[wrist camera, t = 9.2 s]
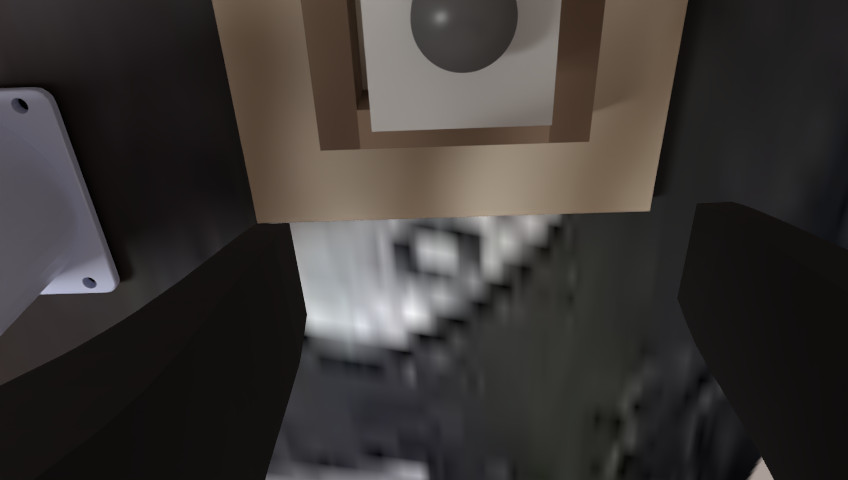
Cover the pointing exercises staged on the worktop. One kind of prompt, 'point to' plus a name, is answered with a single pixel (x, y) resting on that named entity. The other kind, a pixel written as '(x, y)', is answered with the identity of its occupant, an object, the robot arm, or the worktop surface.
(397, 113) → the plug
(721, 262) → the robot arm
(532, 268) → the worktop surface
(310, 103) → the socket dock
